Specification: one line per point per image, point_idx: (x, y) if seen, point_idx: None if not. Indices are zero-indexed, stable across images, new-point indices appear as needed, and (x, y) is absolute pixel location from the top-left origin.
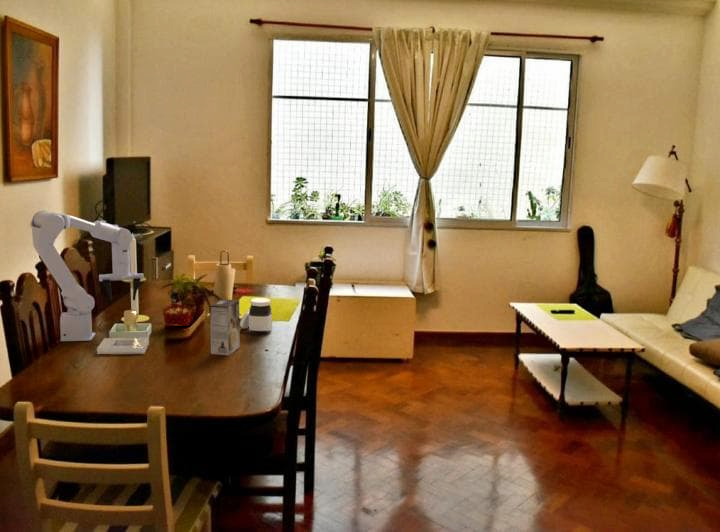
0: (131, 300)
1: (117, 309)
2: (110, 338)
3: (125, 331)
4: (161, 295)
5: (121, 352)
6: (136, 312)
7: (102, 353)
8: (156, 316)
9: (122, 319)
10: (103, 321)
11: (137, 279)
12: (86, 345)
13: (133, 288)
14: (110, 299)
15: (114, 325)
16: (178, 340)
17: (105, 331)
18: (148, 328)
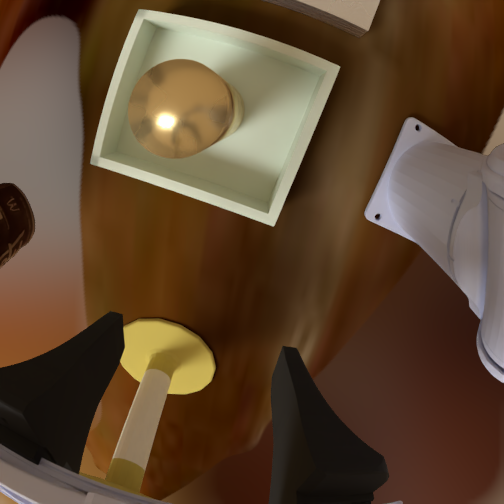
0: (155, 419)
1: (212, 448)
2: (339, 11)
3: (239, 95)
4: None
5: None
6: (132, 99)
7: None
8: None
9: (210, 366)
10: None
11: (5, 436)
12: (428, 65)
13: (67, 370)
14: (293, 356)
15: (282, 195)
16: (53, 7)
17: (310, 245)
18: (118, 66)
